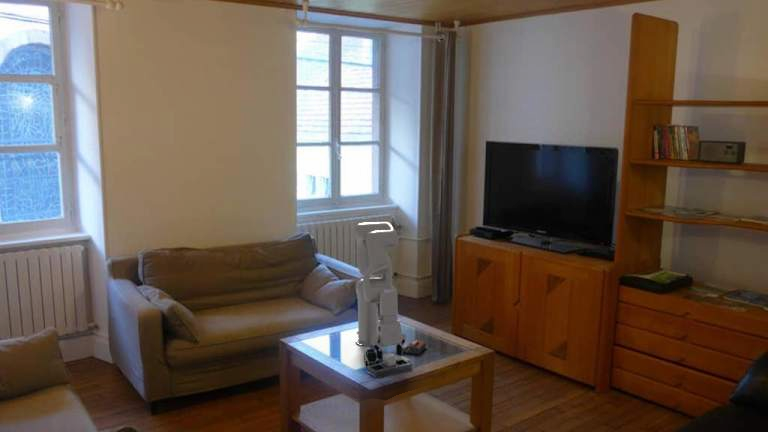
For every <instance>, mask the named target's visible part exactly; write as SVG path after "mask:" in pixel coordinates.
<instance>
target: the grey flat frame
mask: <svg viewBox="0 0 768 432" xmlns="http://www.w3.org/2000/svg"><path fill="white" fill-rule="evenodd" d="M412 366H413V365H412V363H411V362H410V361H408V362H407V361H405V360H403V359H402V358H401V359H397V360H396V366H394V367H389V368H387V367H385V366H383V362H379V364H375V363H374V364H369V365H368V366H367V367H366V372H367V371H368V372H370V373H371V374H373V375H374V376H376V377H378V378H380V377H379V376H382V377H385V375H386V376H389V374H390V375H394V374H397V373H401V372H402V373H403V372H406V371H411V370H412V369H413V367H412ZM410 369H411V370H410ZM368 372H367V373H368ZM371 374H370V375H371ZM373 375H372V376H373ZM374 376H373V377H374ZM376 377H375V378H376Z"/></svg>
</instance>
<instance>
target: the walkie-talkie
mask: <svg viewBox="0 0 768 432" xmlns="http://www.w3.org/2000/svg"><path fill="white" fill-rule="evenodd" d="M425 348H426V341H424V340H418V339H415V340H412V341H410V343H409V344H408V343H407V344H403V346H402V353H403V352H405V353H407V354H413V355H419V354H420V353H422V351H423V350H425Z"/></svg>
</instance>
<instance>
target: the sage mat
mask: <svg viewBox="0 0 768 432" xmlns="http://www.w3.org/2000/svg"><path fill="white" fill-rule="evenodd" d="M401 358H402V359H403V360H405V361H407V362H411V360H410V359H409V358H407V357H406V356H404V355H402V356H399V355H397V356H396V360H397V359H401Z"/></svg>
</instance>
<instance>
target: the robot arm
mask: <svg viewBox="0 0 768 432" xmlns="http://www.w3.org/2000/svg"><path fill="white" fill-rule="evenodd" d="M353 232H354V238H355V241H356V244H357V247H358V248H357V249H358V272H359V274H360V276H363V277H362V278H360V279H359V280H357V281H356V283H355V292H356V295H357V296H356V297H357V314H358V315H357V317H358V318H357V319H358V320H357V321H358V324H357V325H358V328H357V329H358V331H357V332H356V334H357V336H358V337H357V338H359V339H358V341H357V342H358V343H359V344H362V345H367V346H366V347H373V349H375V351H376V352H377V358H378V360H379V361H383V351H382V349H383V348H384V347H390V346H391V347H392V346H395V348H396V349H395V350H396V351H395V352H396V353H395V355H397V356H403V355H402V353H403V352H402V347H403V346H404V345H405V342H406V339H407V337H408V335H407V334H405V333H403V332H402V327H401V322H400V319H399V315H398V314H399V311H398V304H399V303H398V290H397V288H396V286H394V285H393V264H392V263H393V262H392V259H391V257H390V256H388V251H387V249H388V250H391V249H397V248H398V246H399V236H398V233H397V231H396V229H395V227H394V226H393V225H392V223H390V222H388V221H375V222H374V221H371V222H368V221H367V222H360V223H358V224H357V223H356V225H355V226H354V228H353ZM372 276H378V277H372ZM379 276H381V277H379ZM378 304H379V307H378ZM362 345H361V346H362Z"/></svg>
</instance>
